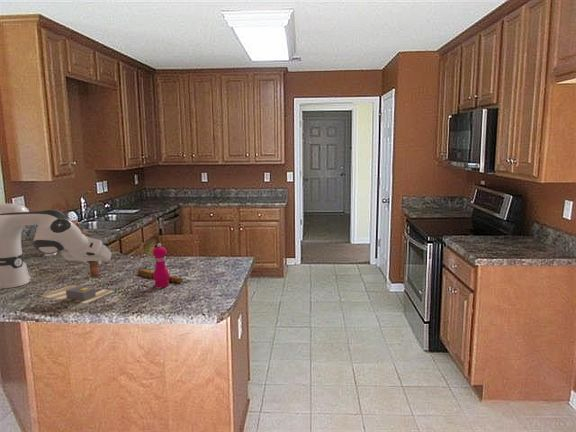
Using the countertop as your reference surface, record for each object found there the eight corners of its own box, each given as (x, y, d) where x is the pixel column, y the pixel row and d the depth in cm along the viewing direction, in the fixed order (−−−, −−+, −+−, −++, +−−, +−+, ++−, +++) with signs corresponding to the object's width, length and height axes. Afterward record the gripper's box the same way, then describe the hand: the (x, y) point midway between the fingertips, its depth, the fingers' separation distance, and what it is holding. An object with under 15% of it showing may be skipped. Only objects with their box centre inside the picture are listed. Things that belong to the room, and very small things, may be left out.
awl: (88, 277, 193) (86, 248, 191) (94, 274, 196) (92, 246, 194) (94, 277, 192) (92, 249, 190) (100, 275, 195) (98, 247, 193)
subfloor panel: (40, 299, 190) (40, 296, 190) (71, 287, 205) (70, 285, 204) (86, 306, 180) (86, 303, 180) (115, 293, 195) (114, 290, 195)
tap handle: (177, 278, 206) (135, 269, 222) (178, 285, 206) (136, 275, 222) (182, 277, 208) (140, 268, 224) (183, 283, 209) (141, 273, 225)
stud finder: (66, 298, 187) (65, 289, 186) (78, 293, 192) (77, 285, 192) (84, 300, 183) (83, 291, 183) (95, 296, 189) (94, 287, 188)
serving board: (62, 241, 305) (61, 233, 304) (98, 237, 318) (97, 228, 317) (71, 252, 273) (70, 242, 272) (110, 247, 286) (109, 237, 285)
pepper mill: (156, 283, 209) (153, 241, 205) (171, 282, 208) (169, 241, 205) (151, 288, 202) (148, 245, 198) (167, 287, 201) (164, 245, 198)
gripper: (53, 252, 182) (69, 268, 193) (99, 253, 180) (113, 269, 191) (58, 239, 186) (74, 256, 197) (104, 240, 183) (118, 257, 194)
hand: (94, 262), depth 194 cm, fingers closed on awl, 3 cm apart
